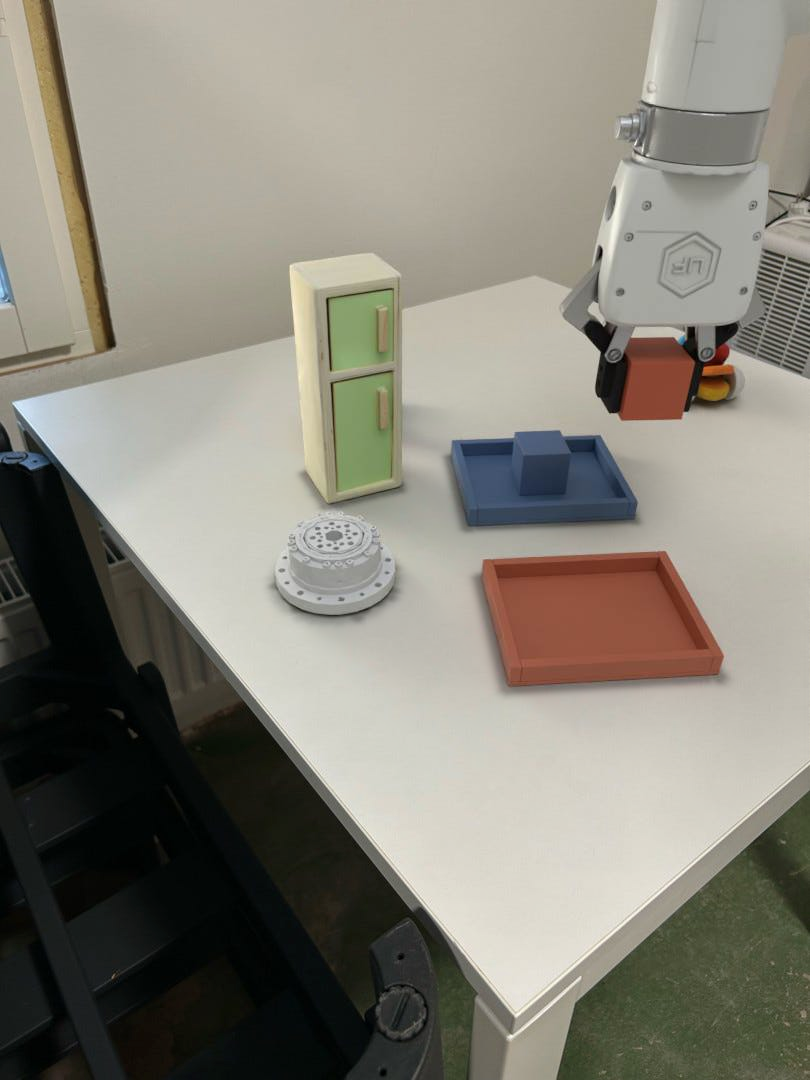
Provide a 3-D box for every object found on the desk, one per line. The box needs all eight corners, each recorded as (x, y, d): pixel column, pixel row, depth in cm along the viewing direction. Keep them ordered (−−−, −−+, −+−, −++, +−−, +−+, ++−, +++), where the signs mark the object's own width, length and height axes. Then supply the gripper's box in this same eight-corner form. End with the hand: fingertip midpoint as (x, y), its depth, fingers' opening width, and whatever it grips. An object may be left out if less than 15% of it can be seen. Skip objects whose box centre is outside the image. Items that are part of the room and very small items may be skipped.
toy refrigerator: (328, 510, 77) (316, 289, 65) (303, 472, 83) (287, 261, 70) (405, 491, 80) (408, 276, 67) (376, 456, 85) (374, 250, 73)
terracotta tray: (661, 568, 71) (665, 550, 70) (718, 674, 61) (724, 655, 59) (481, 576, 70) (482, 558, 68) (508, 686, 59) (511, 667, 58)
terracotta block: (662, 392, 64) (674, 336, 61) (681, 419, 60) (695, 362, 57) (604, 393, 63) (614, 337, 61) (621, 421, 60) (632, 363, 57)
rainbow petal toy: (682, 414, 93) (695, 354, 89) (642, 377, 101) (653, 320, 97) (748, 406, 95) (765, 347, 91) (705, 371, 103) (718, 315, 98)
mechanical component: (404, 610, 66) (385, 538, 74) (405, 567, 63) (385, 496, 71) (279, 624, 65) (273, 548, 72) (274, 580, 62) (269, 507, 70)
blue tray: (597, 450, 87) (600, 434, 86) (634, 518, 77) (638, 501, 75) (450, 455, 86) (451, 439, 84) (468, 526, 75) (469, 508, 74)
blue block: (554, 469, 83) (560, 429, 80) (565, 493, 79) (571, 453, 76) (510, 471, 82) (514, 431, 80) (519, 495, 79) (523, 455, 76)
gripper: (577, 149, 47) (541, 431, 58) (861, 149, 48) (774, 426, 59) (549, 125, 53) (521, 384, 64) (802, 125, 54) (733, 380, 65)
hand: (643, 402), depth 61 cm, fingers closed on terracotta block, 4 cm apart
